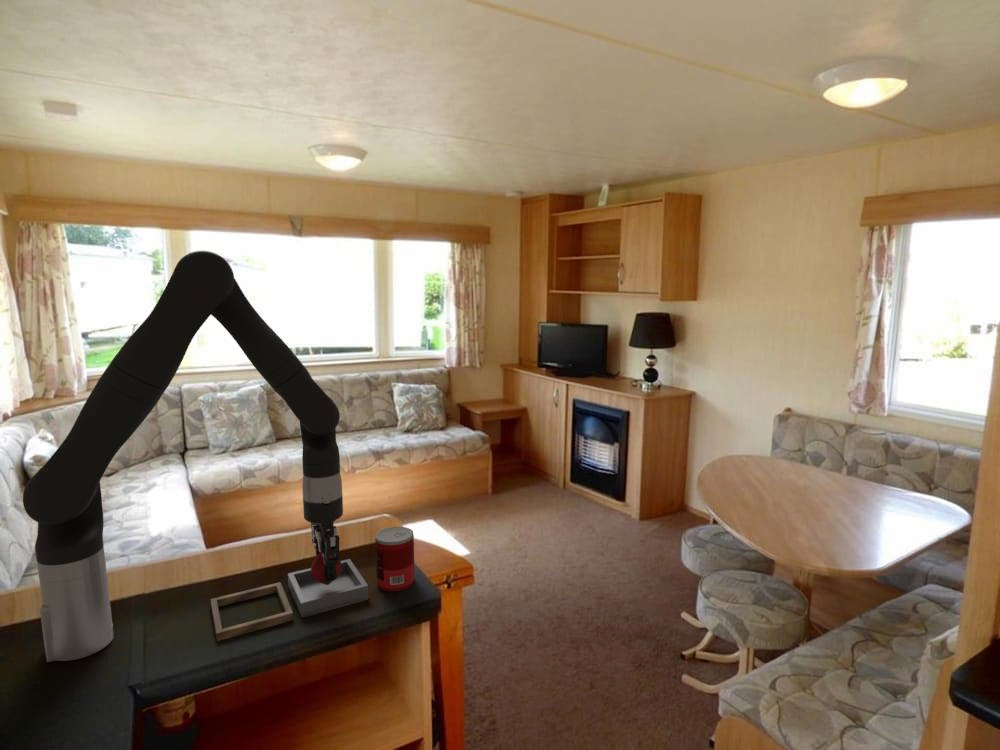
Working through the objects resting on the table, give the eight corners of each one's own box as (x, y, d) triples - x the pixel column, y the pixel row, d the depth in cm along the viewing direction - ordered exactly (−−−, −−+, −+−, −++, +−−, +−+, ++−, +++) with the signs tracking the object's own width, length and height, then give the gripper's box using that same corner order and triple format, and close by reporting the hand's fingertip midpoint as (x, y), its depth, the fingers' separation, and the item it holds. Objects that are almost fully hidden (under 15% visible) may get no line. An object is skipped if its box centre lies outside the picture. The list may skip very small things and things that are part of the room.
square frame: (217, 641, 103) (216, 633, 103) (211, 606, 114) (210, 599, 114) (293, 620, 110) (292, 612, 110) (280, 588, 121) (280, 582, 121)
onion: (323, 595, 115) (321, 557, 114) (306, 585, 118) (304, 548, 117) (347, 583, 120) (346, 546, 118) (330, 574, 123) (328, 538, 122)
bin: (301, 617, 110) (300, 603, 110) (288, 587, 122) (287, 573, 121) (368, 599, 117) (368, 585, 116) (350, 571, 128) (349, 558, 128)
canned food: (422, 579, 125) (421, 531, 123) (396, 596, 118) (395, 545, 116) (395, 570, 129) (393, 523, 127) (369, 586, 122) (367, 536, 120)
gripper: (295, 486, 120) (299, 562, 123) (311, 510, 108) (315, 594, 111) (332, 480, 124) (335, 554, 127) (351, 502, 112) (354, 584, 114)
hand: (326, 572), depth 119 cm, fingers open, 6 cm apart
